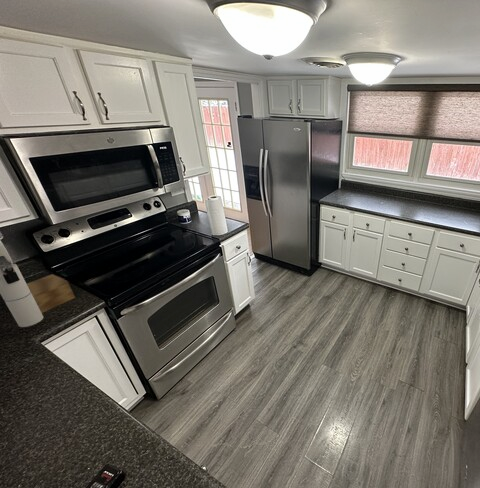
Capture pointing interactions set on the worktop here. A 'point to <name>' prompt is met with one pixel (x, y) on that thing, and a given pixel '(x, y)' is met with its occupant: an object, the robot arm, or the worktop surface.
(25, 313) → the cylindrical container
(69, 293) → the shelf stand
